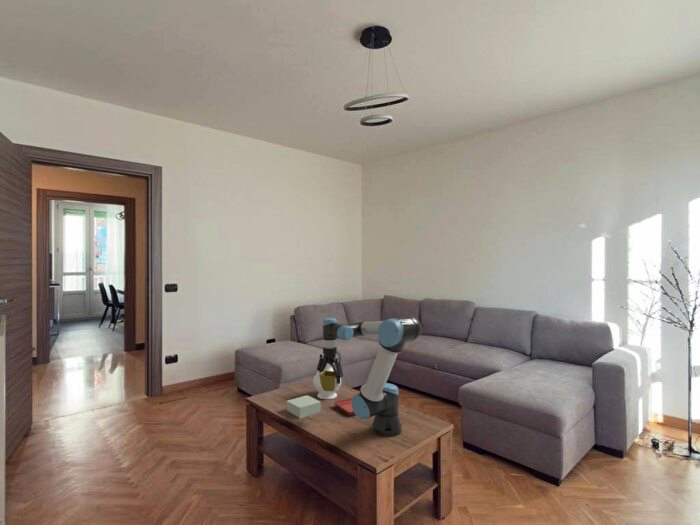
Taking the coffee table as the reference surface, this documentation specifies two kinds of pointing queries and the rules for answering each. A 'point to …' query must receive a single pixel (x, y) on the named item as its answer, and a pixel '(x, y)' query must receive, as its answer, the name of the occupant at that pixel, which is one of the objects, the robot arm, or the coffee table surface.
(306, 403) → the sage block
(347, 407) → the plant saucer
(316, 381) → the decorative vase
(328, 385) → the flower pot
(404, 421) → the coffee table surface
